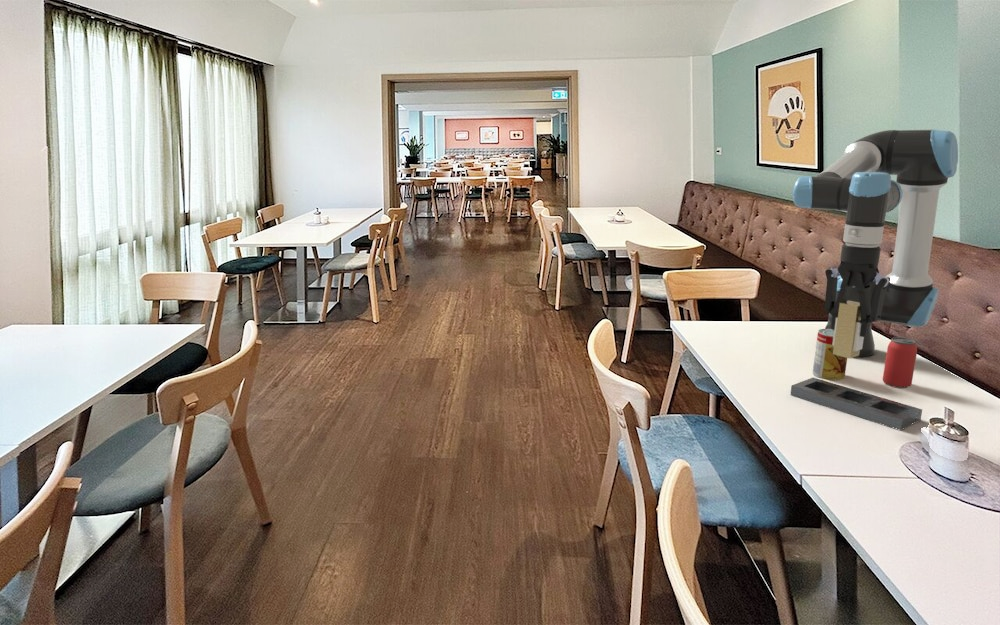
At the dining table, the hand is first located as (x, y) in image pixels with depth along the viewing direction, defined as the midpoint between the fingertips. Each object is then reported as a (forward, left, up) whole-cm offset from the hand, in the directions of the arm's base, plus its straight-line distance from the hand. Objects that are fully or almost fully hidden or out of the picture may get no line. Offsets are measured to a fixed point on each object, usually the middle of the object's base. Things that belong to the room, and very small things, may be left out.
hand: (847, 346), depth 154 cm
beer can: (-32, -1, -16) cm, 36 cm away
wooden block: (0, 0, -2) cm, 2 cm away
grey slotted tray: (-7, 0, -16) cm, 18 cm away
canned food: (-24, -15, -16) cm, 33 cm away
